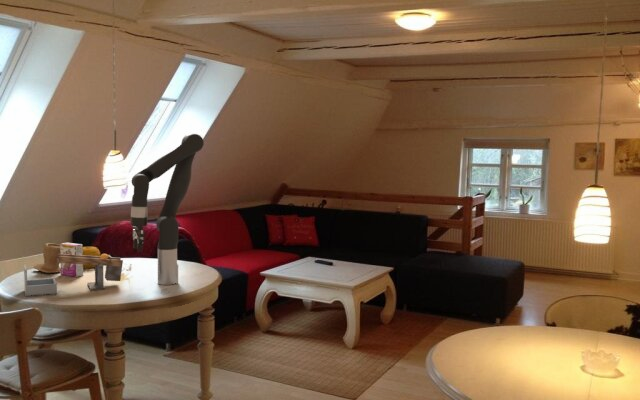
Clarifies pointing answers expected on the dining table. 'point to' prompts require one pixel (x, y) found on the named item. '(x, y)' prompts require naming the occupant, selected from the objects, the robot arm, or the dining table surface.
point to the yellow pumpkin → (90, 254)
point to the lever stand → (97, 279)
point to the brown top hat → (50, 259)
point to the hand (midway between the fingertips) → (137, 249)
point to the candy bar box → (71, 269)
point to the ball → (104, 256)
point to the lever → (111, 264)
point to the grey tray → (39, 285)
